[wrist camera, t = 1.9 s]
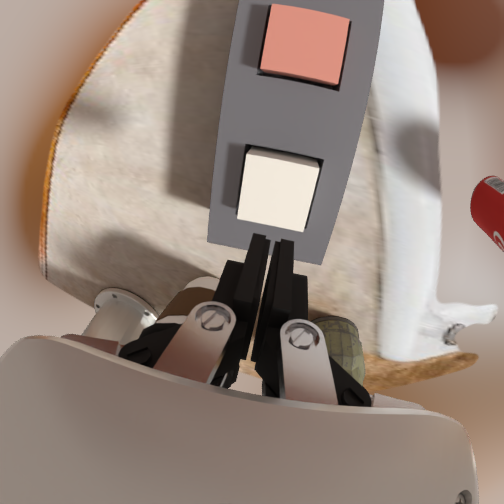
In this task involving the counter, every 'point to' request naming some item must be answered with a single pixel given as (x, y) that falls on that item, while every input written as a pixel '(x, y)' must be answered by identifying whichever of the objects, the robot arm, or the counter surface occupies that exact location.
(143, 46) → the counter surface
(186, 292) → the coffee cup
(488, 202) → the beverage can
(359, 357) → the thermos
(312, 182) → the ivory key
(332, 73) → the brick key
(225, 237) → the key panel
